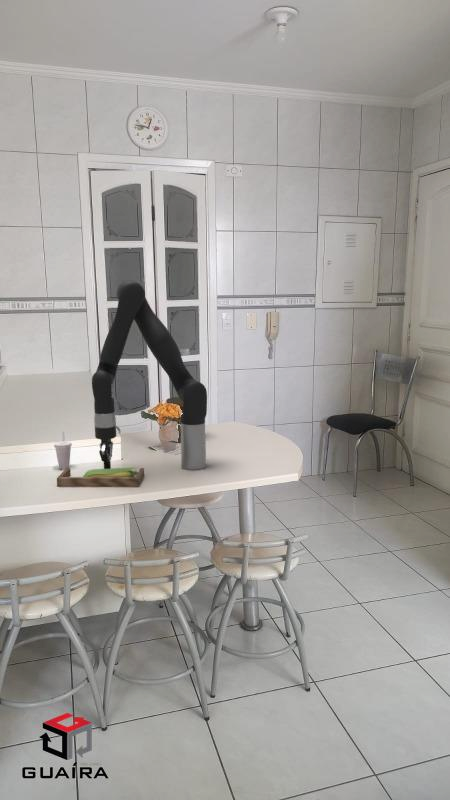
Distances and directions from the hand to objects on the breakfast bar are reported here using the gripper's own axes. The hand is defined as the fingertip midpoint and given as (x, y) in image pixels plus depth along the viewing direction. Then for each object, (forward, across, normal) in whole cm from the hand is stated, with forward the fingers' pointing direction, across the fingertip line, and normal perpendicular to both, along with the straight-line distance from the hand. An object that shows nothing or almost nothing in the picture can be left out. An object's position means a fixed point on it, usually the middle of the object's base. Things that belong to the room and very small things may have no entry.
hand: (107, 470), depth 204 cm
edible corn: (+2, -7, -3) cm, 8 cm away
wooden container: (+2, +51, -24) cm, 57 cm away
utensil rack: (+1, -8, 0) cm, 8 cm away
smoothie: (+2, +8, +18) cm, 20 cm away
